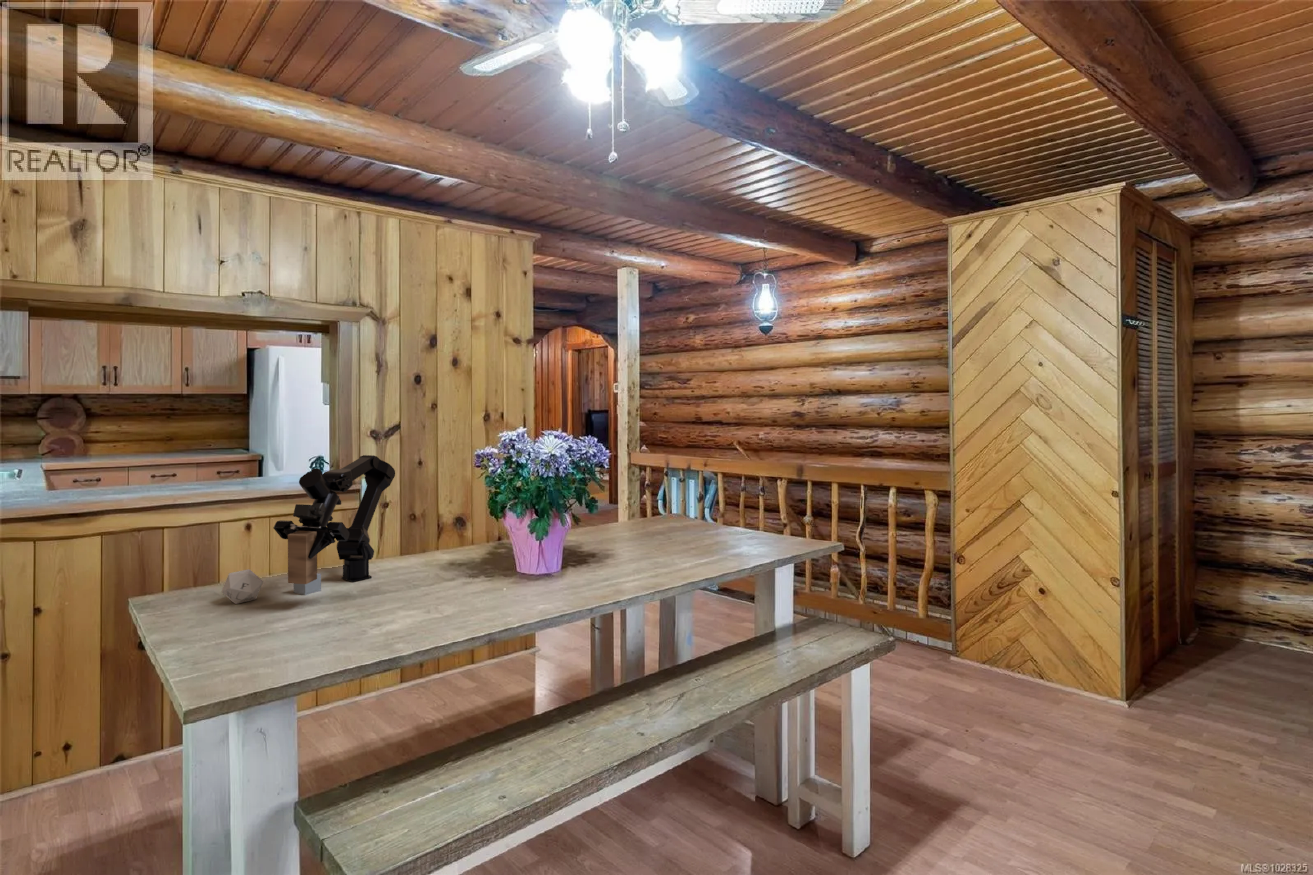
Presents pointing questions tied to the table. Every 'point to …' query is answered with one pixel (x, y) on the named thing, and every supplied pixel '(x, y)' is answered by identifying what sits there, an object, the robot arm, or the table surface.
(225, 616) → the table surface
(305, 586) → the slate cube
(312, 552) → the robot arm
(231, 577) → the die
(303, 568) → the walnut block
